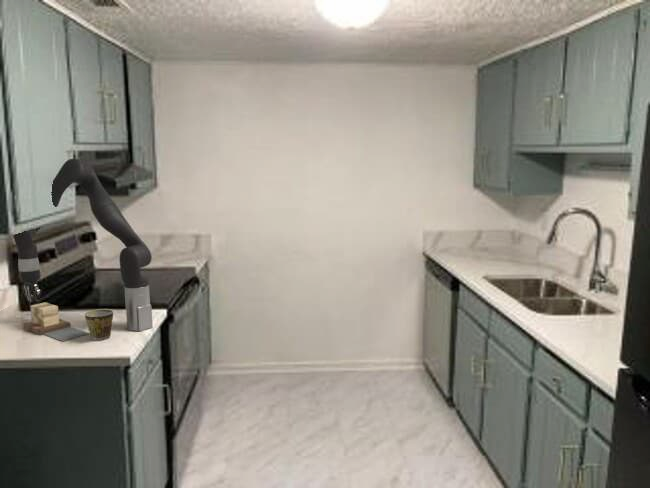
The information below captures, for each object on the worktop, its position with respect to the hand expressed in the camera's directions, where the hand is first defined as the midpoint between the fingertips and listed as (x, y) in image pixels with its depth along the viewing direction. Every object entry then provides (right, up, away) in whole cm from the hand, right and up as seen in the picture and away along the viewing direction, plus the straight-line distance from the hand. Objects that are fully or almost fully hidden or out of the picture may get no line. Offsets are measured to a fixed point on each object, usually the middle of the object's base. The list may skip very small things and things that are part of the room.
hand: (33, 310), depth 227 cm
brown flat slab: (+8, -7, -5) cm, 12 cm away
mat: (+20, -8, -13) cm, 25 cm away
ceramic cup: (+35, -9, -19) cm, 41 cm away
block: (+7, -5, -5) cm, 10 cm away
